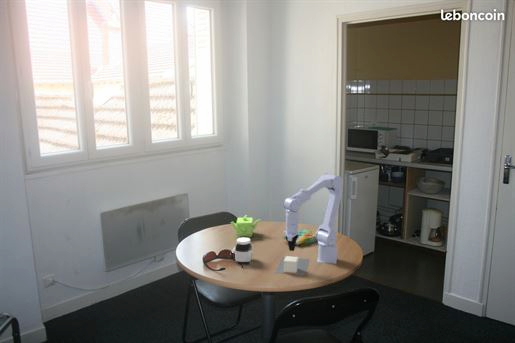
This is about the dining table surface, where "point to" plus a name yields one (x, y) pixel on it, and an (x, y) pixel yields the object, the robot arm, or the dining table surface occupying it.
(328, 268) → the dining table surface
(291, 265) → the cube
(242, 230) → the kettle
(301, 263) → the mat
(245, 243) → the spread jar
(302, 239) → the colorful snack bag
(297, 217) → the robot arm
